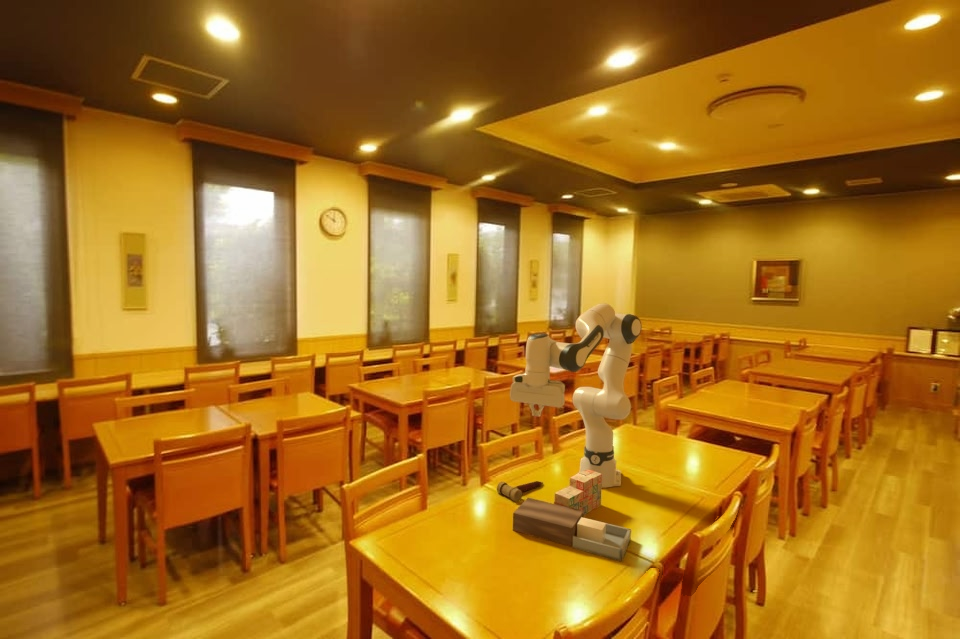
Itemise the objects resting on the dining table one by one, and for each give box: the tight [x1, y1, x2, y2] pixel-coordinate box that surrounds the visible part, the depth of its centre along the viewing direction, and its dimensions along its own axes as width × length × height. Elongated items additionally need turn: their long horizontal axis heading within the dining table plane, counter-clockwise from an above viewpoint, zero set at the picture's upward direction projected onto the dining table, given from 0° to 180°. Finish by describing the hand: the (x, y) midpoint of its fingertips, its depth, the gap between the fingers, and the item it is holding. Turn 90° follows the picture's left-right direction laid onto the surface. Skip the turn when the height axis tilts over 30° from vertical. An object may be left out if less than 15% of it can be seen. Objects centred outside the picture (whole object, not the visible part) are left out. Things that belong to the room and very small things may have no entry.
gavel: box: [496, 480, 544, 502], centre depth 186 cm, size 21×5×10 cm
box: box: [572, 517, 632, 562], centre depth 148 cm, size 14×15×4 cm
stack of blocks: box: [553, 469, 603, 516], centre depth 169 cm, size 21×6×12 cm, turn 135°
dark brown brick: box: [512, 497, 584, 548], centre depth 157 cm, size 13×20×6 cm, turn 62°
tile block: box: [577, 516, 607, 544], centre depth 150 cm, size 5×5×8 cm
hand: (536, 415), depth 171 cm, fingers closed
